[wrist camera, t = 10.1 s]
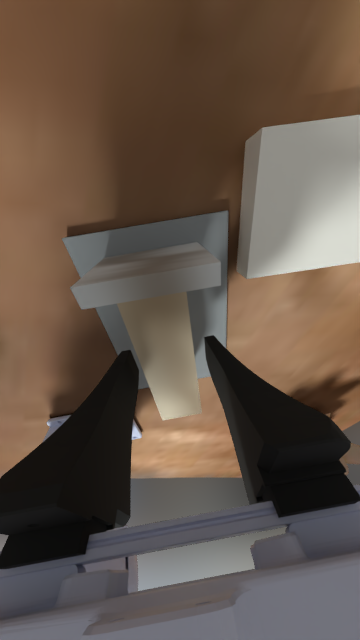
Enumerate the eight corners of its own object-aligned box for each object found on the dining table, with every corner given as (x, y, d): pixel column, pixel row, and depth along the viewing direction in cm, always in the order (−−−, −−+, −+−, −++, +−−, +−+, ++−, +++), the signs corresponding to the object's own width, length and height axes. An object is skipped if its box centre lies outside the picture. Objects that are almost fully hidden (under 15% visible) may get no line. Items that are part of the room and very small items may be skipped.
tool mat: (135, 385, 19) (134, 389, 18) (66, 237, 10) (61, 238, 10) (223, 369, 19) (225, 373, 18) (225, 210, 11) (228, 210, 10)
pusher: (146, 371, 17) (142, 423, 13) (104, 257, 11) (70, 287, 7) (206, 360, 17) (221, 409, 13) (197, 241, 11) (220, 261, 7)
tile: (246, 278, 11) (262, 127, 8) (234, 269, 13) (242, 143, 9) (362, 261, 12) (435, 104, 8) (334, 254, 13) (382, 124, 9)
